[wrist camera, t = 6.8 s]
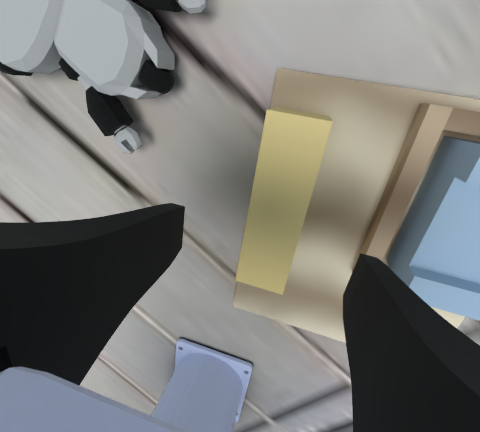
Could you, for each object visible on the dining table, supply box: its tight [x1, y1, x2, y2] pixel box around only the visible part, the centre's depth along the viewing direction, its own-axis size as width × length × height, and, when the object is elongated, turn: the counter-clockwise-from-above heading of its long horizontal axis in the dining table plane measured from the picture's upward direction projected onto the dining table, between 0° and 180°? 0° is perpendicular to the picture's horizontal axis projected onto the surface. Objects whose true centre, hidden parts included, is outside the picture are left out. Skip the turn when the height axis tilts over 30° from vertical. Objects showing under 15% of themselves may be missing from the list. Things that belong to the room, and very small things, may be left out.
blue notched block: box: [386, 136, 480, 321], centre depth 14 cm, size 8×4×4 cm, turn 171°
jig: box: [232, 68, 480, 343], centre depth 17 cm, size 18×16×2 cm
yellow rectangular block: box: [235, 107, 333, 295], centre depth 16 cm, size 10×3×4 cm, turn 171°
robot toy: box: [0, 0, 207, 154], centre depth 16 cm, size 12×4×15 cm
